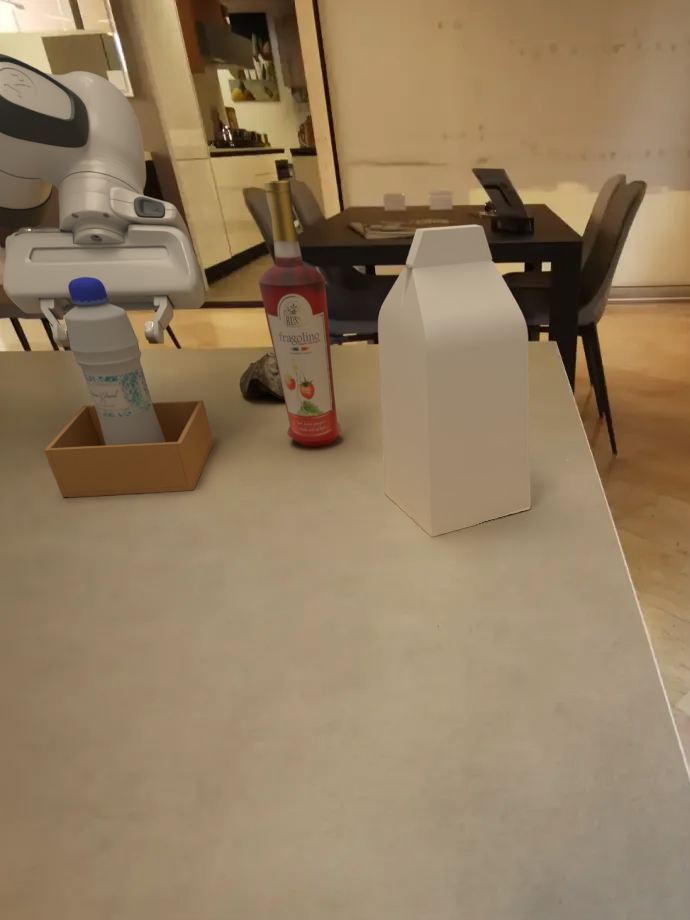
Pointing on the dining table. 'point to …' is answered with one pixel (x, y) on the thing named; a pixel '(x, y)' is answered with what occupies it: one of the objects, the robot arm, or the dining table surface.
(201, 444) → the shallow wooden crate
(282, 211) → the liquor
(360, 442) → the dining table surface
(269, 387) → the fossilized seashell
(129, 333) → the bottle
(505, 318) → the milk
